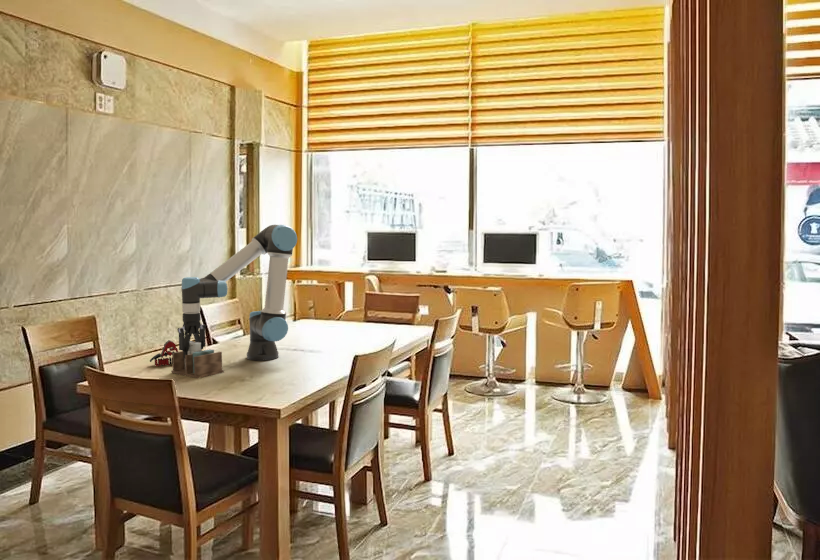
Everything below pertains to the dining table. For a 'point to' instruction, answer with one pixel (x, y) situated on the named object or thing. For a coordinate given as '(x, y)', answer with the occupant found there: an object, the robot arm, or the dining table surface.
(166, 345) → the logo sign
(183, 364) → the rack
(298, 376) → the dining table surface
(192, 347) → the skincare box
